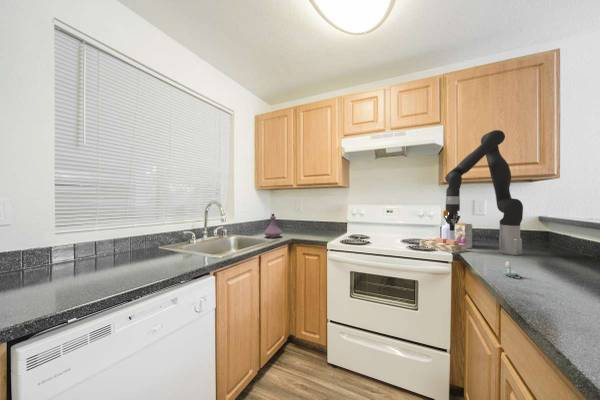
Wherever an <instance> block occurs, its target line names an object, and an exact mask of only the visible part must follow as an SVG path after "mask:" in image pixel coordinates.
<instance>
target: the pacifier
mask: <svg viewBox="0 0 600 400" xmlns="http://www.w3.org/2000/svg"><path fill="white" fill-rule="evenodd" d="M505 267H506V268H503V269H502V273H503V274H504V275H508V276H511V277H510V278H513V277H515V278H514V279H521V278H520V277H522V278H523V276H522V275H520V274H519V273H518V272H516V270H514V269H512V266H511V263H510V262H509V261H506V262H505ZM516 275H519V276H516ZM508 276H507V277H508Z"/></svg>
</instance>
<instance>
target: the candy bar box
mask: <svg viewBox="0 0 600 400" xmlns="http://www.w3.org/2000/svg"><path fill="white" fill-rule="evenodd" d="M455 240H457V241H458V243H460V244H466V249H473V224H472V223H468V222H461V221H458V223H457V224H455Z"/></svg>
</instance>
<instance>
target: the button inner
mask: <svg viewBox="0 0 600 400" xmlns="http://www.w3.org/2000/svg"><path fill="white" fill-rule="evenodd" d="M446 244H450V245H458V241H457V240H451V239H450V240H446Z"/></svg>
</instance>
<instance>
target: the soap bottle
mask: <svg viewBox="0 0 600 400" xmlns="http://www.w3.org/2000/svg"><path fill="white" fill-rule="evenodd" d="M442 213H443V215H442V217H443V219H445V218H444V216H447V211H446V209H444V210H443V211H442ZM440 238H445V239H447V240H450V239H451V240H455V230H454V231H451V230H450V225H449V224H447V222H446V221H445V224H444V225H442V226H441V237H440Z"/></svg>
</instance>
